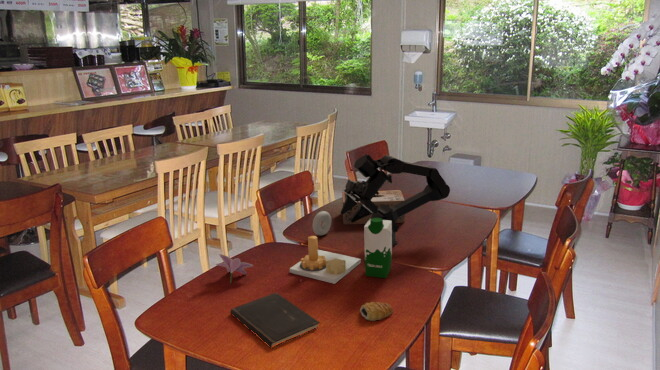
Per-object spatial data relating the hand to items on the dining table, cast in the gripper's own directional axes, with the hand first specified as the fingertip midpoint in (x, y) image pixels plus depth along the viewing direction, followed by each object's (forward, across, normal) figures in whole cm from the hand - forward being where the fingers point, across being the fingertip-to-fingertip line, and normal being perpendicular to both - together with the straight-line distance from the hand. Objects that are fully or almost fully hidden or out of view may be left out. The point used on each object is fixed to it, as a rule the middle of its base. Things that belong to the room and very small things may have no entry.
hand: (346, 217), depth 196 cm
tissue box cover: (-8, -29, +28) cm, 41 cm away
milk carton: (+8, +20, +12) cm, 25 cm away
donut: (+11, -20, +8) cm, 24 cm away
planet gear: (+20, +8, -3) cm, 22 cm away
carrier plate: (+18, +9, +1) cm, 20 cm away
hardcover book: (+37, +35, -17) cm, 54 cm away
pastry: (+17, +44, +3) cm, 47 cm away
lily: (+40, +3, -20) cm, 45 cm away
